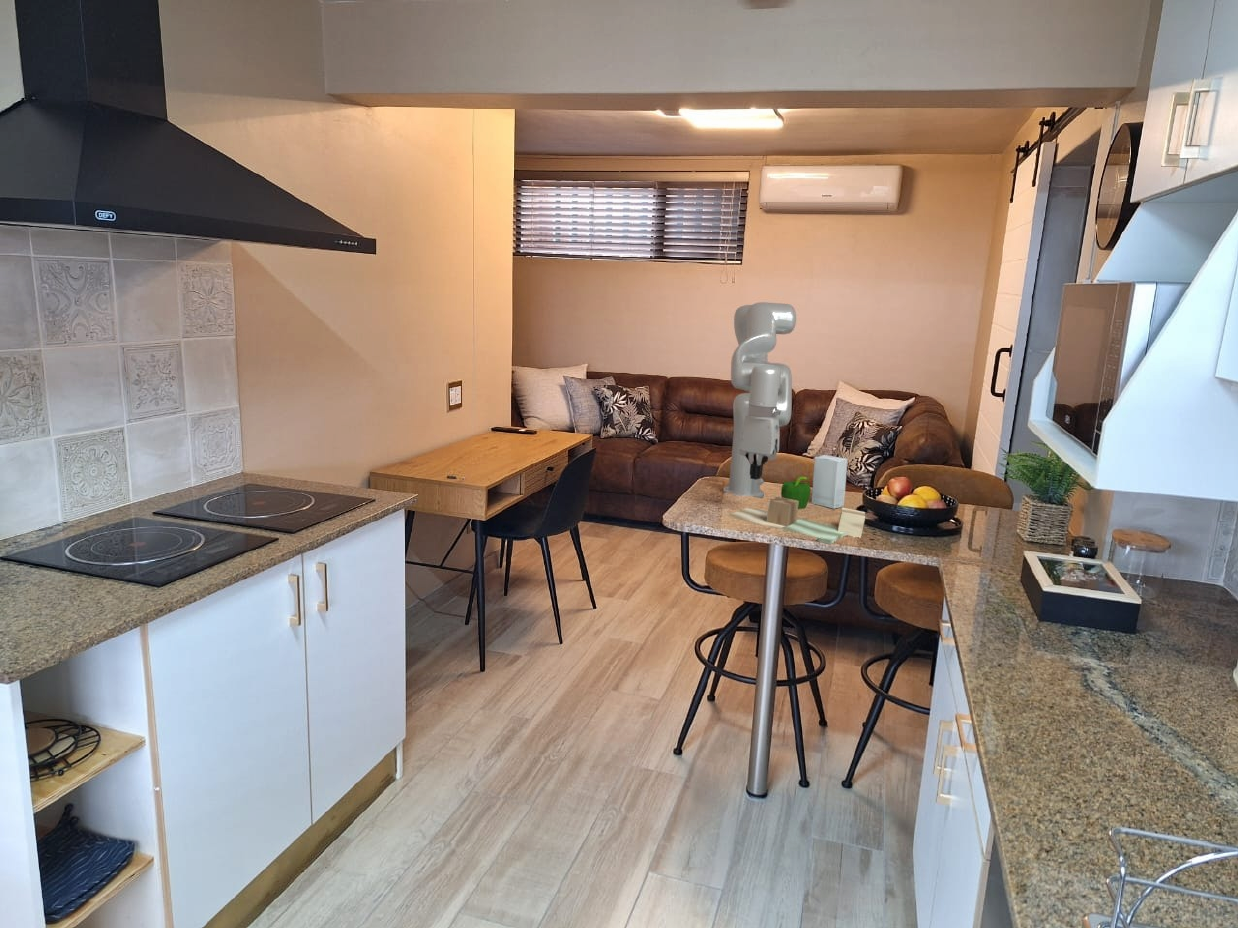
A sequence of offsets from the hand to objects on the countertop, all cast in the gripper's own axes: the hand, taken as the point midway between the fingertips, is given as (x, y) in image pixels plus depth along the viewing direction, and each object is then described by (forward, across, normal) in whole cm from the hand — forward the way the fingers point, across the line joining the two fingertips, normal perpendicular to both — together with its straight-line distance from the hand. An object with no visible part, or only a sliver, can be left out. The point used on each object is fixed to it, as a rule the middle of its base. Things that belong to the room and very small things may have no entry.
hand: (755, 478), depth 224 cm
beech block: (+12, -25, -8) cm, 29 cm away
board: (+12, -10, -1) cm, 15 cm away
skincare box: (+11, -9, -33) cm, 36 cm away
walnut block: (+8, -6, -1) cm, 10 cm away
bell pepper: (+12, -4, -20) cm, 23 cm away
